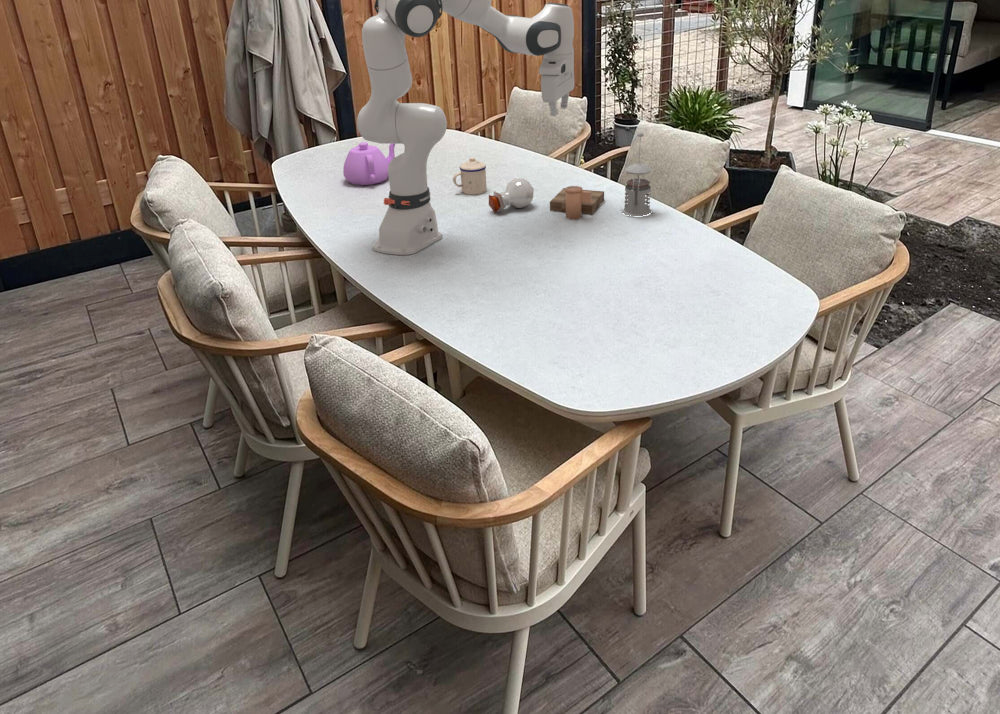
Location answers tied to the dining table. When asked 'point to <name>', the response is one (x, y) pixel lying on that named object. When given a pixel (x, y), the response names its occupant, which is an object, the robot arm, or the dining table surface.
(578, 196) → the copper mug
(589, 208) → the holder
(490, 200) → the potion bottle
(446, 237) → the dining table surface
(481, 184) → the teacup with lid
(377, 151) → the teapot
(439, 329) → the dining table surface
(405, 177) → the robot arm
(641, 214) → the french press
